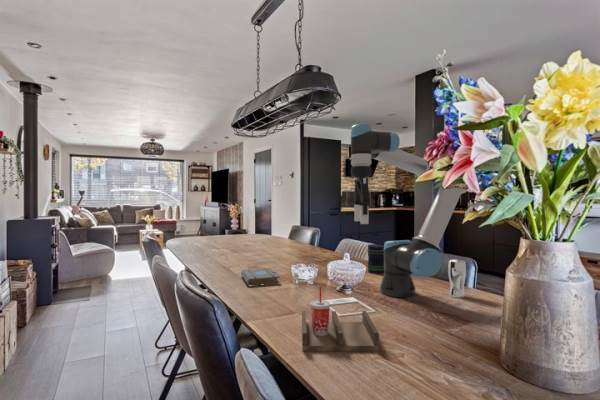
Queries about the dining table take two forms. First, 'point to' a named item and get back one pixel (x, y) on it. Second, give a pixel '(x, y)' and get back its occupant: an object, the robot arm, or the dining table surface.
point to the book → (260, 276)
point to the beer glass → (457, 277)
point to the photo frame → (345, 301)
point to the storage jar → (376, 259)
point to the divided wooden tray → (341, 335)
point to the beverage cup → (320, 316)
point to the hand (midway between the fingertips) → (361, 222)
